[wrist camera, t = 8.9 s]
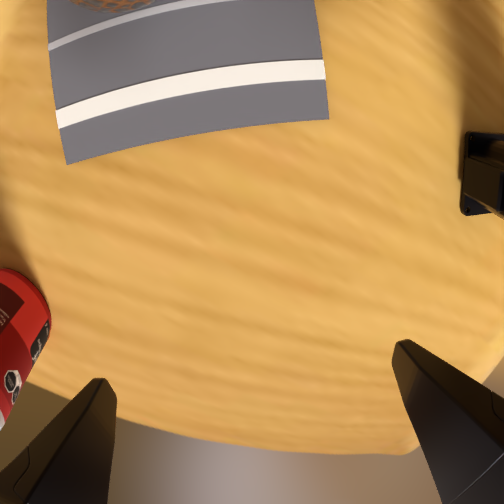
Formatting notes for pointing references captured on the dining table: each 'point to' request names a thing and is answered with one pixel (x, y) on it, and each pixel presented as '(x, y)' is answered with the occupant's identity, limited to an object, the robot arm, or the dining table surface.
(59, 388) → the dining table surface
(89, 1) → the vase
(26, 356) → the canned food
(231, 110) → the mat
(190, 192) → the dining table surface
